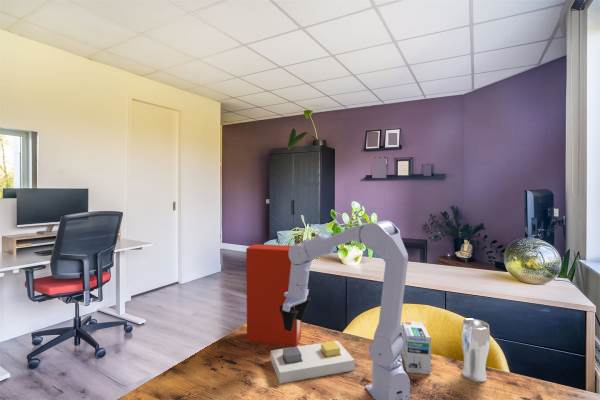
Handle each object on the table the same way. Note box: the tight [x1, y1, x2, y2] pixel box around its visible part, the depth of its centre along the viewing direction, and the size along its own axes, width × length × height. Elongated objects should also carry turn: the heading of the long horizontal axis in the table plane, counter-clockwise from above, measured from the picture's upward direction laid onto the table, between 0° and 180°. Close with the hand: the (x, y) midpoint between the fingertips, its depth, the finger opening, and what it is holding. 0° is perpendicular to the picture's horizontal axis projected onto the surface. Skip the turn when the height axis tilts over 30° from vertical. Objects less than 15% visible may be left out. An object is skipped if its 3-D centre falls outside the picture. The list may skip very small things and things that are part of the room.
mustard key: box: [320, 340, 340, 358], centre depth 96 cm, size 4×4×3 cm
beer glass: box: [460, 318, 491, 383], centre depth 89 cm, size 7×7×15 cm
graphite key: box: [282, 346, 301, 364], centre depth 93 cm, size 4×4×3 cm
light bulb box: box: [401, 320, 432, 375], centre depth 95 cm, size 11×7×11 cm, turn 171°
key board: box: [270, 340, 356, 384], centre depth 95 cm, size 12×22×3 cm, turn 107°
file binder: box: [245, 243, 302, 347], centre depth 110 cm, size 8×17×32 cm, turn 78°
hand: (293, 324), depth 98 cm, fingers open, 7 cm apart
